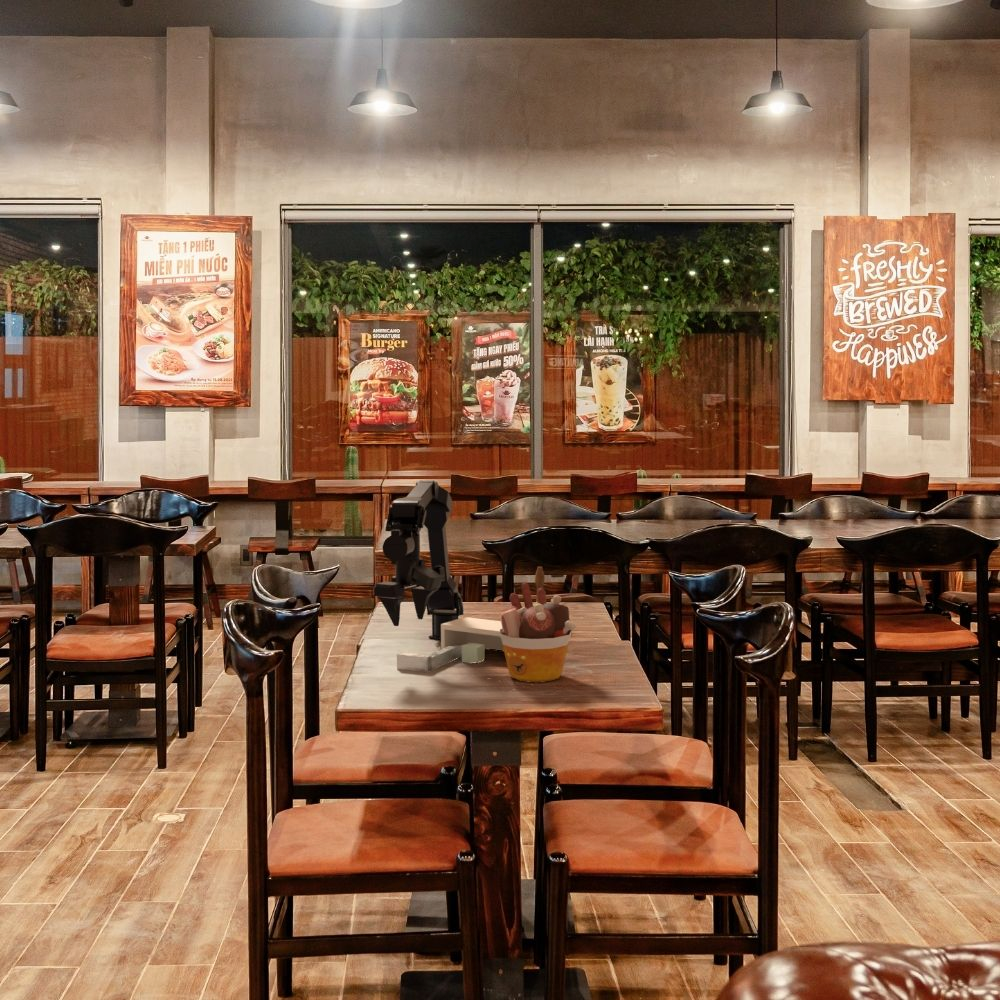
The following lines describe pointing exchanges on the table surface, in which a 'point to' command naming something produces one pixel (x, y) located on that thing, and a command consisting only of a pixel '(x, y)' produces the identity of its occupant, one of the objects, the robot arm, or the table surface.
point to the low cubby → (472, 632)
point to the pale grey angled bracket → (428, 659)
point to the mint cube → (473, 652)
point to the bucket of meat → (535, 636)
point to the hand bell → (539, 580)
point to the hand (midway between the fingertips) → (408, 622)
